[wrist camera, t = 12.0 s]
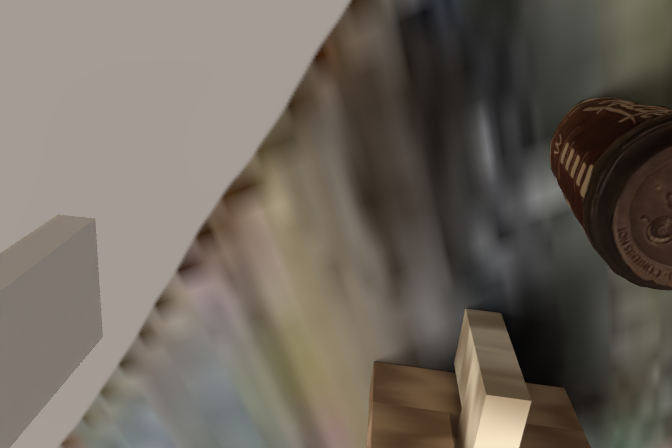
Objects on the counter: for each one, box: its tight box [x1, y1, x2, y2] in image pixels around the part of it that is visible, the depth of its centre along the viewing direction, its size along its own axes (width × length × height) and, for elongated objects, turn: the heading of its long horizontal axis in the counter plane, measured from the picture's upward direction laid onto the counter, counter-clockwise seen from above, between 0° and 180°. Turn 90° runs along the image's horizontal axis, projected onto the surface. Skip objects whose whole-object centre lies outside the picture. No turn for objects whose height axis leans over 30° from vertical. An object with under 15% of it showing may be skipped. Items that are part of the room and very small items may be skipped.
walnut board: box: [367, 362, 591, 448], centre depth 41 cm, size 14×2×10 cm, turn 84°
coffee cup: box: [550, 97, 672, 290], centre depth 33 cm, size 9×8×13 cm
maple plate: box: [453, 308, 531, 448], centre depth 41 cm, size 13×2×10 cm, turn 174°
